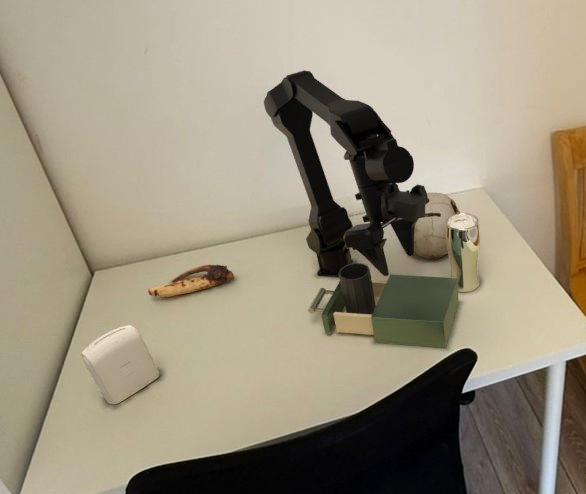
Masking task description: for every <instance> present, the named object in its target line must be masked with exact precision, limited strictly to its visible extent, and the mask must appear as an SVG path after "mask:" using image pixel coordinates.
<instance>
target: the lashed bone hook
mask: <svg viewBox="0 0 586 494" xmlns="http://www.w3.org/2000/svg"><path fill="white" fill-rule="evenodd" d="M204 272H205V273H204ZM199 273H204V274H202V275H200V276H195V277H191V278H187V277H189V276H192V275H194V274H195V275H196V274H199ZM234 277H235V274H234V273H233V271H232V270H229V269H228V265H221V264H204V265H199V266H196V267H194V268H191V269H188V270H186V271H184V272H182V273H180V274H178V275H177V276H176V277H174V278H173V279H172V280H171V282H170V283H164V284H160V285H156V286H152V287H149V288H148V290H147V291H148V295H149V296H151V297H157V296H158V297H160V298H169V297H174V296H179V295H184V294H189V293H190V294H191V293H193V292H197V291H200V290H205V289H209V288H212V287H216V286H219V285H222V284H223V283H226V282H227V281H231V280H233V279H234ZM185 278H186V279H185Z"/></svg>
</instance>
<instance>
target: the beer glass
mask: <svg viewBox="0 0 586 494" xmlns="http://www.w3.org/2000/svg"><path fill="white" fill-rule="evenodd" d="M479 222H480V221H479V218H478V216H476V215H475V214H471V213H467V212H460V213H459V214H454V215H452V216H450V217H448V218H447V219H446V221H445V224H446V227H445V240H446V248H447V256H448V260H449V264H450V268H451V277H450V278H457V285H458V293H469V292H473V291H475V290H476V289H478V288H479V286H480V278H479V274H478V263H479V257H480V249H481V231H480V223H479Z"/></svg>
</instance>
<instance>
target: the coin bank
mask: <svg viewBox="0 0 586 494" xmlns="http://www.w3.org/2000/svg"><path fill="white" fill-rule="evenodd" d="M427 195H428V199H429V200H430V201H429V203H428V204H426V206H425V215H424V216H421V217H420V218H419V219H418V221H417V222H416V224H415V229H414V254H416V255H417V256H418V257H422V258H425V259H427V260H430V259H440V258H442V257H444V256H445V255H448V253H447V248H446V240H445V227H446V224H445V221H446V219H447V218H448V217H450V216H452V215H454V214H459V213H461V211H460V210H459V208H458V206H457V203H456V202H455V200H454V199H453V198H452V197H450V196H448V195H447V194H445V193H442V192H427Z"/></svg>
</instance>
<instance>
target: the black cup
mask: <svg viewBox="0 0 586 494" xmlns="http://www.w3.org/2000/svg"><path fill="white" fill-rule="evenodd" d="M338 278H339V282H340V283H341V288H342V293H343V298H344V303H345V308H344V309H345V311H346V313H355V314H369V315H372V314H373V312H374V309H375V307H376V305H375V299H374V293H373V287H372V280H373V279H372V274H371V269H370V267H369V266H368V265H367V264H365V263H363V262H353V263H352V264H348V265H346V266H344V267H342V268H341V269H340V271H339V277H338Z"/></svg>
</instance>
